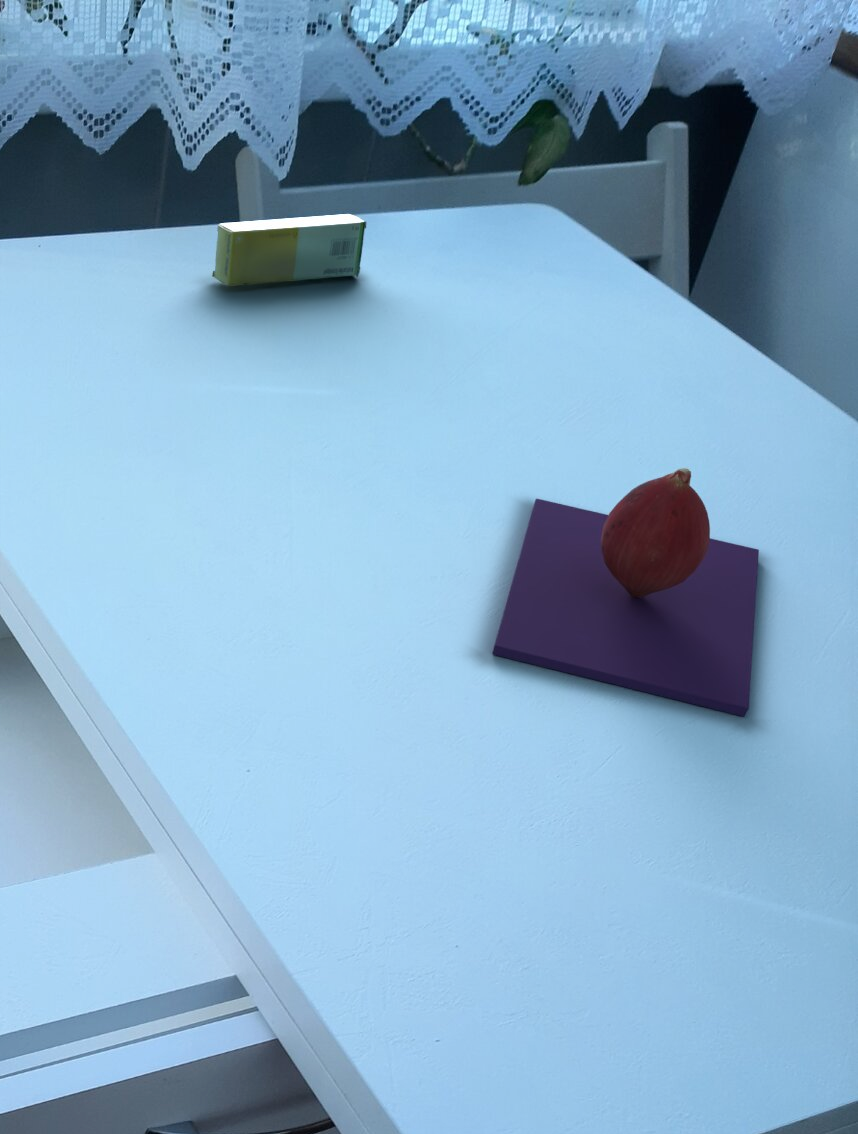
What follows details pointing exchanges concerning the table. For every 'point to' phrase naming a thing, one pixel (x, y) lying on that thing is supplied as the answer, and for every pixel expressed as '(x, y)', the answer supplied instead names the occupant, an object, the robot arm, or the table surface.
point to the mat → (631, 615)
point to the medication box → (289, 249)
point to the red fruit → (656, 535)
